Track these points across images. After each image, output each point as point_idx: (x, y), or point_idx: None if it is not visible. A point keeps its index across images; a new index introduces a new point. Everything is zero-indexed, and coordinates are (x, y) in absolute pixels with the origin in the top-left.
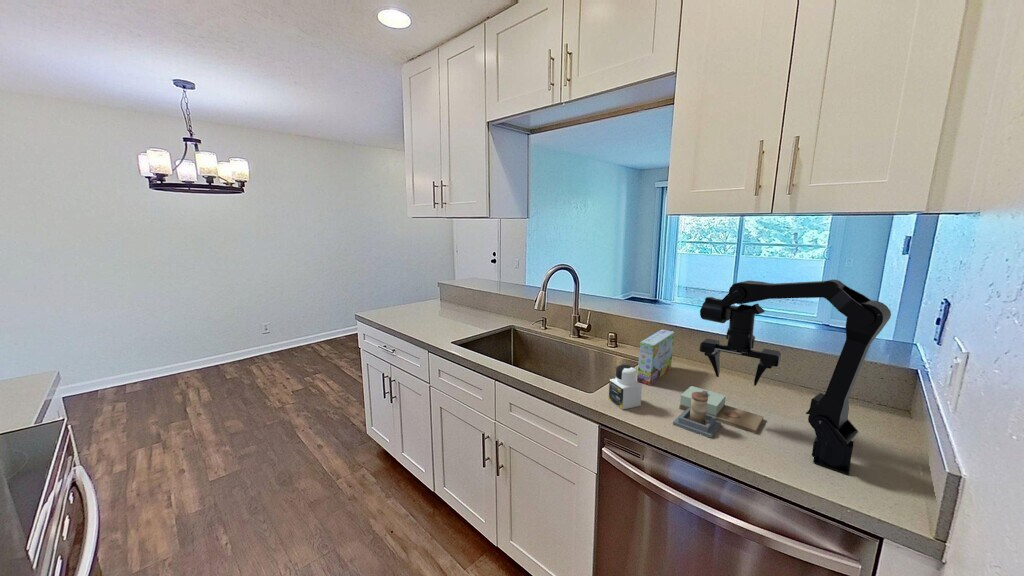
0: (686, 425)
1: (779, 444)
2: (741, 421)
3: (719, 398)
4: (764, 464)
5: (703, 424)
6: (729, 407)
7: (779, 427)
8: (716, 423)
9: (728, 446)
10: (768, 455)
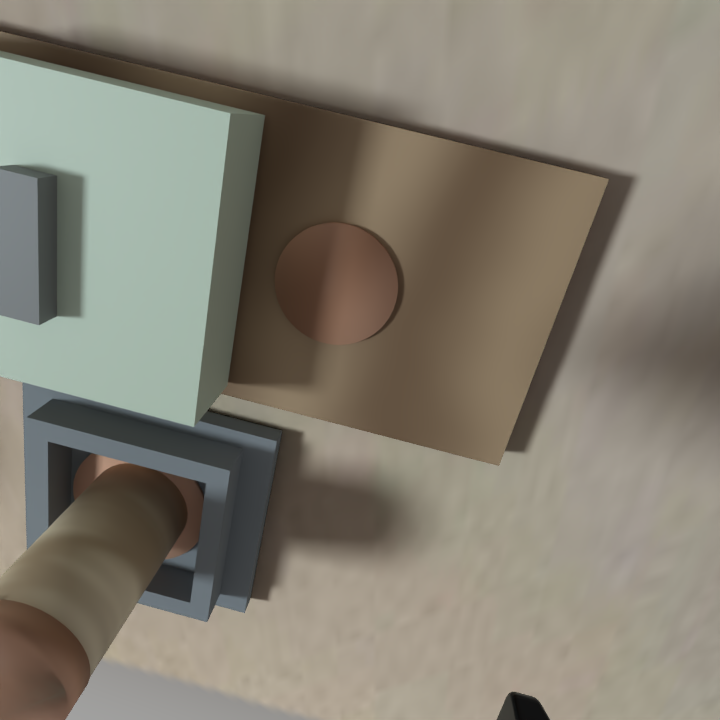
0: None
1: (630, 517)
2: (409, 374)
3: (185, 237)
4: None
5: (179, 535)
6: (311, 141)
7: (710, 262)
8: (249, 469)
9: (339, 635)
10: (534, 643)
